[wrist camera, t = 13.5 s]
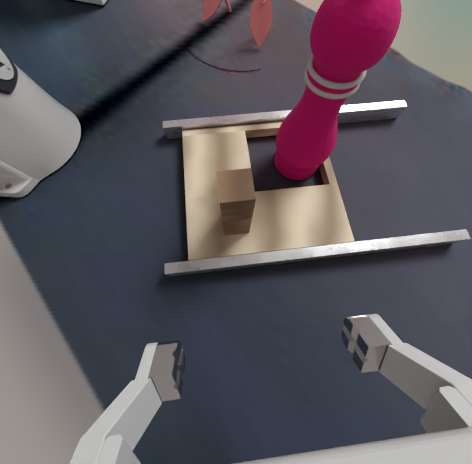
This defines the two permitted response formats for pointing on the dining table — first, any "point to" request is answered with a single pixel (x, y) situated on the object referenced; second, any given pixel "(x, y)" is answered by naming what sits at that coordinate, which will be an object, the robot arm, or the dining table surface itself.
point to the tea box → (95, 1)
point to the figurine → (258, 19)
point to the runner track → (309, 253)
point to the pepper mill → (333, 78)
